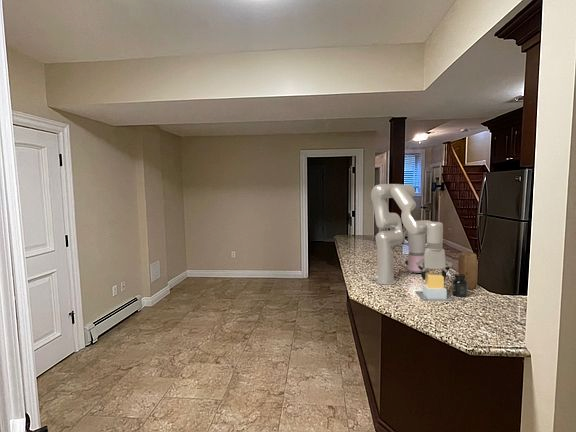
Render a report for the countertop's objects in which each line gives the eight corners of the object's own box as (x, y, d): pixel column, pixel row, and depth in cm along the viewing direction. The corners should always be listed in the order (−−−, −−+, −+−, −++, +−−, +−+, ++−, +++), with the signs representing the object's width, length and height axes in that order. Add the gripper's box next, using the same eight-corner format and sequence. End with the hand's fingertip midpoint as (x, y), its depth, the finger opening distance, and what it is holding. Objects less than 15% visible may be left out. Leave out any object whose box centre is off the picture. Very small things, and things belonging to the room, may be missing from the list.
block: (478, 289, 182) (478, 254, 181) (464, 289, 183) (464, 254, 182) (469, 284, 193) (470, 250, 192) (456, 284, 194) (456, 250, 193)
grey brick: (427, 298, 166) (427, 288, 166) (422, 293, 175) (422, 284, 175) (446, 299, 165) (446, 289, 164) (440, 293, 174) (440, 284, 173)
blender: (423, 270, 231) (423, 225, 229) (428, 274, 219) (428, 226, 217) (400, 270, 233) (400, 225, 231) (404, 274, 221) (404, 226, 219)
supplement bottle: (449, 295, 173) (450, 273, 173) (463, 295, 173) (463, 272, 173) (456, 299, 167) (456, 276, 166) (469, 299, 166) (470, 276, 166)
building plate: (422, 302, 163) (422, 299, 163) (414, 293, 179) (414, 290, 179) (456, 303, 161) (456, 300, 161) (445, 293, 177) (445, 290, 176)
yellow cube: (429, 288, 166) (429, 276, 166) (425, 284, 173) (425, 273, 173) (443, 288, 166) (443, 276, 165) (439, 284, 172) (439, 273, 172)
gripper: (418, 247, 166) (417, 280, 167) (454, 247, 163) (453, 281, 165) (414, 244, 173) (414, 276, 175) (449, 245, 171) (448, 277, 172)
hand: (433, 278), depth 170 cm, fingers open, 9 cm apart
